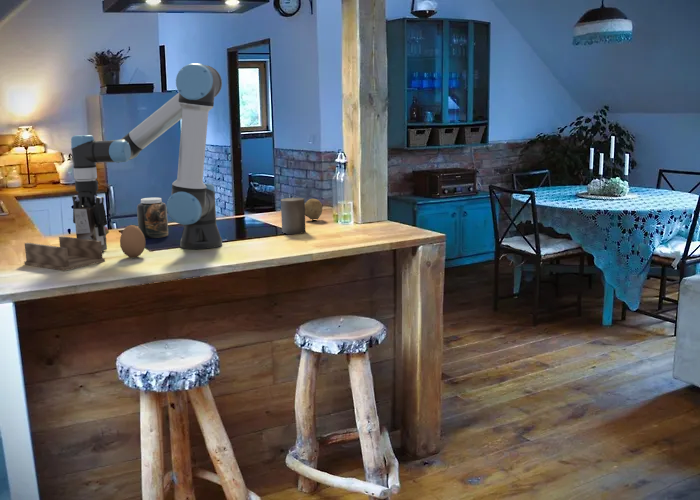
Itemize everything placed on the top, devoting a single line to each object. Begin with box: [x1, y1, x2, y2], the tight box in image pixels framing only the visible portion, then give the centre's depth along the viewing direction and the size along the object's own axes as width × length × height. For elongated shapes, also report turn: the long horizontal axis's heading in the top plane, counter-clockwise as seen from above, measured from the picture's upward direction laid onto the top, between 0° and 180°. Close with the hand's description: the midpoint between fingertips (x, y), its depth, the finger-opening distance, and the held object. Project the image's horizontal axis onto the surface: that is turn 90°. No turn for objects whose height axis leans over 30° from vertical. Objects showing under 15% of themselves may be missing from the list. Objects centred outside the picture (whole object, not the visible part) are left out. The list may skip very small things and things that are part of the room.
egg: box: [119, 224, 146, 259], centre depth 241 cm, size 8×8×11 cm
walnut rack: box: [23, 236, 105, 272], centre depth 234 cm, size 20×16×7 cm
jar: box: [136, 197, 169, 239], centre depth 282 cm, size 12×12×15 cm
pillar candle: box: [280, 196, 306, 235], centre depth 286 cm, size 10×10×15 cm
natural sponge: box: [305, 198, 323, 220], centre depth 316 cm, size 9×9×10 cm
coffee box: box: [74, 207, 108, 252], centre depth 250 cm, size 9×6×16 cm
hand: (92, 244), depth 251 cm, fingers closed on coffee box, 8 cm apart
